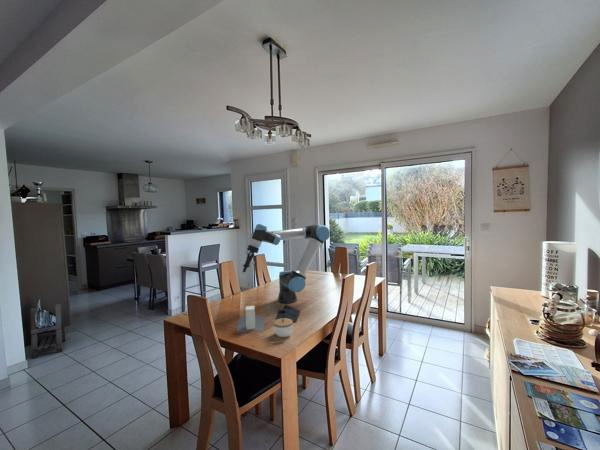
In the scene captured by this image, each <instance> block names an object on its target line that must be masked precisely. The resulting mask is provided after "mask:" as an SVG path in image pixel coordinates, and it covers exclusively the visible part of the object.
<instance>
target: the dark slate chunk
mask: <svg viewBox="0 0 600 450" xmlns="http://www.w3.org/2000/svg"><path fill="white" fill-rule="evenodd" d="M300 313H301V310H299V309H296V308H295V307H294V306H291V305H287V304H285V305H284V306H283V309H280V310H278V311H277V314H276V318H275V320H277V319H280V318H288V319H291V320H292V321H293V324H294V323H297V322H298V319H299V317H300Z"/></svg>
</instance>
